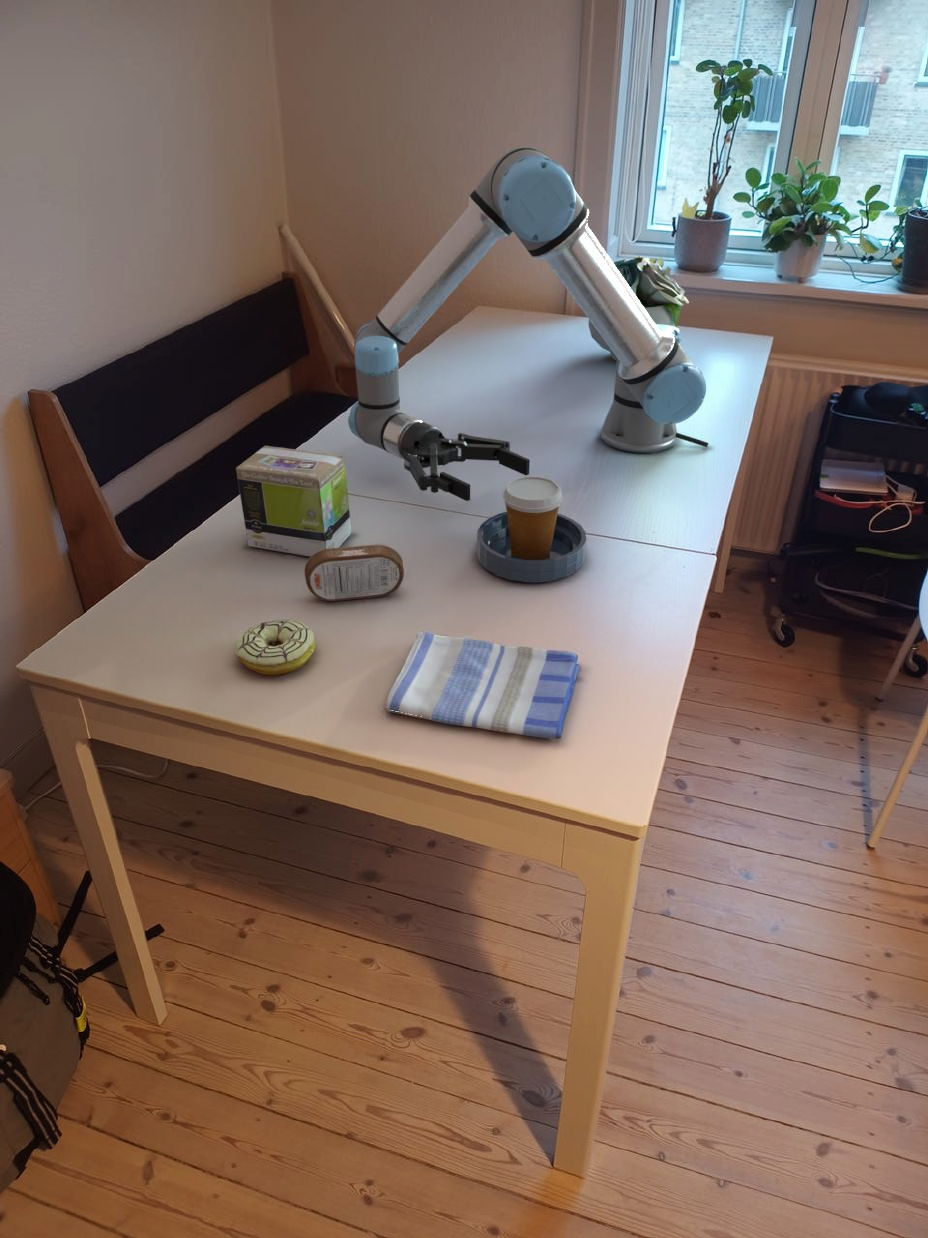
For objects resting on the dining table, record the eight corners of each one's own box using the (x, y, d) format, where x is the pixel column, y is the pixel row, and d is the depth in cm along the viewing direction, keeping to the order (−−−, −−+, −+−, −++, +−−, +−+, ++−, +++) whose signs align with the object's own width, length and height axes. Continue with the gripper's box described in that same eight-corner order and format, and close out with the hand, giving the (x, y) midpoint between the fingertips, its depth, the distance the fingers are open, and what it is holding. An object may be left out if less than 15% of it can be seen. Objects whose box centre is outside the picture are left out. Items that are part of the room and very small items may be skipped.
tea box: (353, 533, 161) (346, 454, 153) (327, 562, 154) (318, 479, 145) (275, 520, 165) (264, 442, 157) (246, 547, 158) (233, 466, 149)
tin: (403, 586, 147) (401, 539, 143) (406, 597, 145) (404, 549, 140) (307, 595, 145) (301, 548, 140) (307, 607, 143) (302, 559, 138)
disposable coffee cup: (555, 571, 150) (559, 504, 143) (496, 565, 151) (498, 498, 145) (562, 542, 157) (566, 477, 151) (506, 537, 159) (508, 472, 152)
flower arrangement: (687, 375, 225) (701, 269, 211) (583, 375, 225) (590, 269, 212) (670, 342, 246) (682, 243, 232) (574, 342, 246) (580, 244, 232)
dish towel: (419, 640, 135) (419, 624, 134) (582, 665, 130) (583, 649, 129) (379, 716, 121) (378, 699, 120) (560, 747, 116) (561, 729, 115)
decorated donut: (261, 630, 138) (258, 608, 136) (328, 643, 135) (325, 621, 133) (224, 671, 130) (220, 648, 127) (294, 686, 127) (291, 663, 125)
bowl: (581, 531, 162) (582, 510, 159) (587, 586, 147) (589, 563, 145) (478, 530, 162) (478, 508, 160) (475, 584, 148) (475, 561, 145)
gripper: (466, 441, 175) (550, 477, 163) (360, 482, 161) (442, 525, 149) (466, 403, 171) (552, 437, 158) (357, 441, 157) (441, 482, 144)
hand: (499, 479), depth 153 cm, fingers open, 13 cm apart
